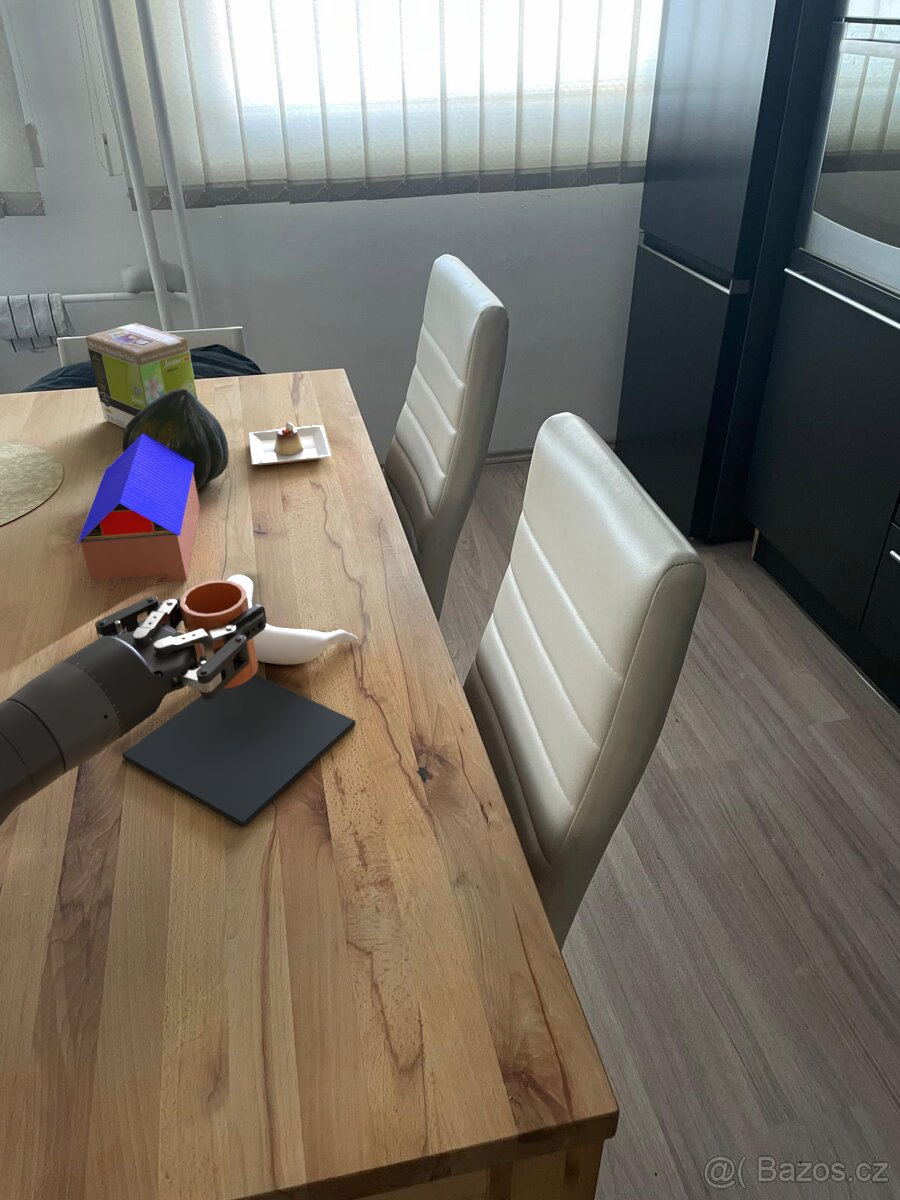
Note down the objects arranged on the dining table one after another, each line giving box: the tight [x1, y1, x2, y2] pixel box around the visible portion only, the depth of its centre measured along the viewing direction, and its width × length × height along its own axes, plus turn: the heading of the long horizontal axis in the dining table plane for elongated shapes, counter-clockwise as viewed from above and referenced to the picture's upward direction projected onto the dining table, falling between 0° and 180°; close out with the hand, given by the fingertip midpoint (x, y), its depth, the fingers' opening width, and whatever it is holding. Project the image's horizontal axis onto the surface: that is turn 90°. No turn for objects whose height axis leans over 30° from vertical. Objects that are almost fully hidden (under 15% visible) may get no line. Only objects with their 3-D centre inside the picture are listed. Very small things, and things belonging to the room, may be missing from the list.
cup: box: [179, 579, 259, 689], centre depth 83 cm, size 6×6×8 cm
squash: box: [121, 388, 230, 490], centre depth 133 cm, size 14×15×15 cm
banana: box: [226, 574, 360, 666], centre depth 106 cm, size 5×19×15 cm
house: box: [76, 433, 201, 585], centre depth 119 cm, size 12×20×12 cm, turn 8°
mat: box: [122, 673, 356, 828], centre depth 90 cm, size 16×16×1 cm
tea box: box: [85, 322, 199, 429], centre depth 151 cm, size 15×10×15 cm
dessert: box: [247, 421, 331, 466], centre depth 144 cm, size 12×12×5 cm
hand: (236, 603), depth 83 cm, fingers closed on cup, 5 cm apart
